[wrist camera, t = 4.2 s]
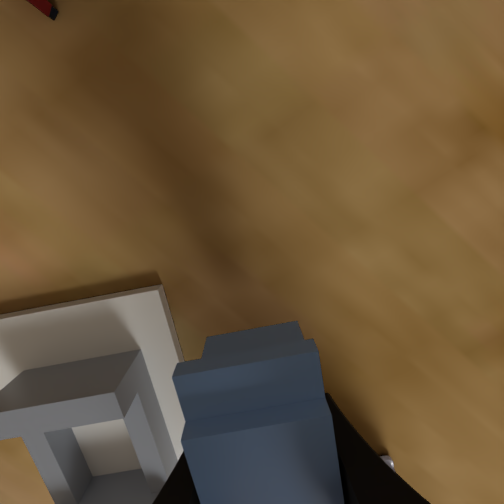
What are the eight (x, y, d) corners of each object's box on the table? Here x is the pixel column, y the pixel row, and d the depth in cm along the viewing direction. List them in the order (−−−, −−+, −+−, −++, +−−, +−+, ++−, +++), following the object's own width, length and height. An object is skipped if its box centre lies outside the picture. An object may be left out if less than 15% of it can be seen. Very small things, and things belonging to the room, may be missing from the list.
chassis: (162, 284, 19) (133, 319, 14) (224, 497, 24) (218, 577, 19) (-20, 318, 19) (-108, 364, 14) (78, 521, 24) (37, 606, 19)
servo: (292, 288, 12) (334, 389, 6) (321, 469, 14) (371, 660, 8) (198, 306, 12) (155, 420, 6) (244, 482, 14) (243, 679, 9)
